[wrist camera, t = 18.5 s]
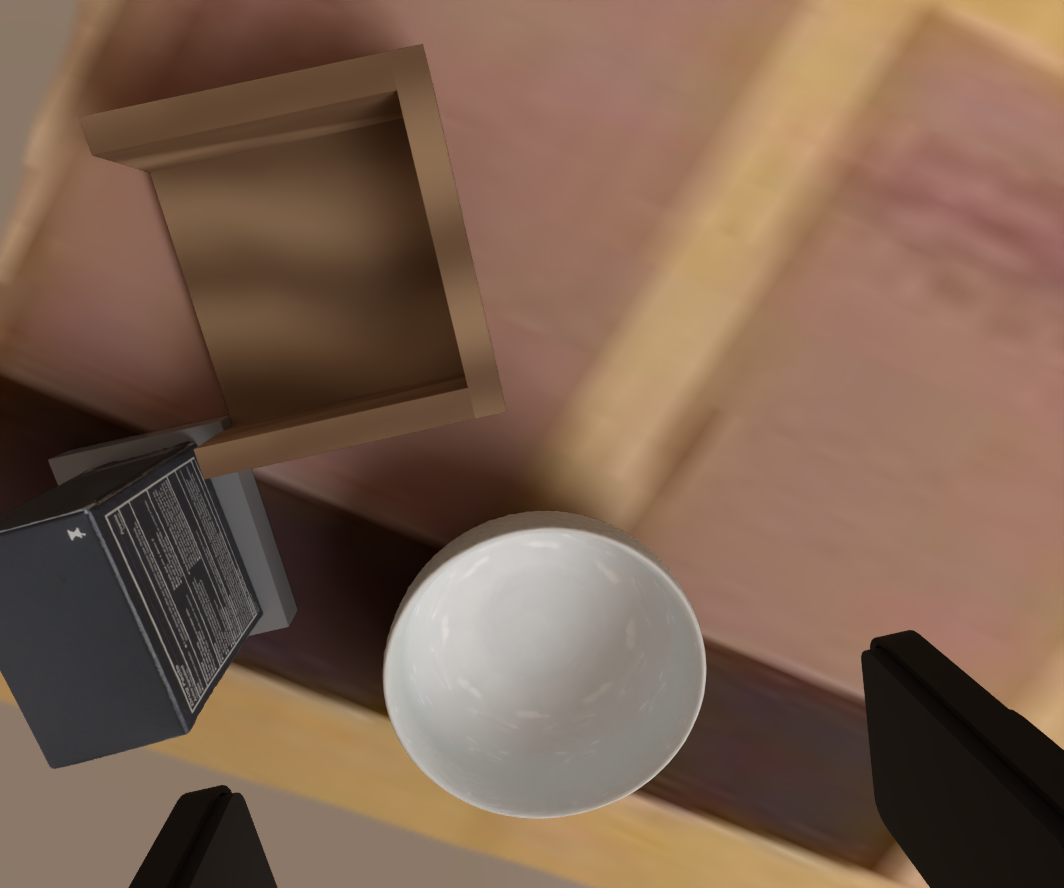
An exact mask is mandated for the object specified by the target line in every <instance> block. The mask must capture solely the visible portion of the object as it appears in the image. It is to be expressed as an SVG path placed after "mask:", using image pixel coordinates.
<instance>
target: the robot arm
mask: <svg viewBox="0 0 1064 888" xmlns="http://www.w3.org/2000/svg"><path fill="white" fill-rule="evenodd" d="M861 662H862V672H863V683H864V693H865V703H866V714H867V724H868V734H869V745H870V755H871V765H872V775H873V786H874V796H875V802H876V806H877V809H878V812H879V814H880V817H881V819H882V821H883V822H884V824H885V826H886V827H887V829H888V830H889V832H890V833H891V834H892V836H893V837H894V838H895V840H896V841H897V843H898V844H899V845H900V847H901V848H902V850H903V851H904V852H905V854H906V855H907V856H908V858H909V859H910V861H911V862H912V863H913V865H914V866H915V867H916V869H917V870H918V872H919V873H920V874H921V876H922V877H923V879H924V880H925V881H926V883H927V884H928V885H929V887H930V888H1064V750H1063V749H1062V748H1060V747H1059V746H1058V745H1057V744H1056V743H1054V742H1053V741H1052V740H1051V739H1050V738H1048V737H1047V736H1046V735H1045V734H1044V733H1042V732H1041V731H1040V730H1039V729H1038V728H1036V727H1035V726H1034V725H1033V724H1032V723H1030V722H1029V721H1028V720H1027V719H1025V718H1024V717H1023V716H1021V715H1020V714H1018V713H1017V712H1015V711H1014V710H1010V709H1008V708H1007V707H1005V706H1004V705H1003V704H1002V703H1001V702H1000V701H998V700H997V699H996V698H995V697H994V696H992V695H991V694H990V693H989V692H988V691H986V690H985V689H984V688H983V687H982V686H980V685H979V684H978V683H977V682H976V681H974V680H973V679H972V678H971V677H970V676H969V675H967V674H966V673H965V672H964V671H963V670H961V669H960V668H959V667H958V666H957V665H955V664H954V663H953V662H952V661H951V660H949V659H948V658H947V657H946V656H945V655H943V654H942V653H941V652H940V651H939V650H937V649H936V648H935V647H934V646H933V645H932V644H930V643H929V642H928V641H927V640H926V639H924V638H923V637H922V636H921V635H920V634H918V633H917V632H915V631H913V630H908V631H903V632H899V633H894V634H890V635H885V636H881V637H877V638H874V639H873V640H872V641H871V644H870V650H866V651H864V652H862V656H861ZM129 888H277V885H276V883H275V880H274V877H273V874H272V872H271V869H270V867H269V864H268V861H267V859H266V856H265V853H264V851H263V848H262V845H261V842H260V840H259V837H258V834H257V831H256V829H255V826H254V823H253V821H252V818H251V815H250V813H249V810H248V807H247V804H246V802H245V799H244V798H243V796H242V795H241V794H240V793H232V792H231V790H230V789H229V788H228V787H227V786H224V785H220V786H216V787H211V788H208V789H202V790H198V791H194V792H189V793H186V794H184V795H182V796H181V797H180V798H179V800H178V801H177V803H176V805H175V807H174V808H173V810H172V812H171V813H170V815H169V817H168V819H167V821H166V822H165V824H164V826H163V828H162V829H161V831H160V833H159V835H158V837H157V838H156V840H155V842H154V844H153V845H152V847H151V849H150V851H149V852H148V854H147V856H146V858H145V859H144V861H143V863H142V865H141V867H140V868H139V870H138V872H137V874H136V875H135V877H134V879H133V881H132V883H131V884H130V886H129Z"/></svg>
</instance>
